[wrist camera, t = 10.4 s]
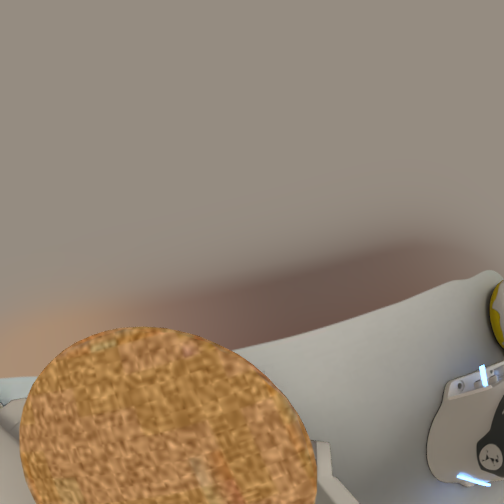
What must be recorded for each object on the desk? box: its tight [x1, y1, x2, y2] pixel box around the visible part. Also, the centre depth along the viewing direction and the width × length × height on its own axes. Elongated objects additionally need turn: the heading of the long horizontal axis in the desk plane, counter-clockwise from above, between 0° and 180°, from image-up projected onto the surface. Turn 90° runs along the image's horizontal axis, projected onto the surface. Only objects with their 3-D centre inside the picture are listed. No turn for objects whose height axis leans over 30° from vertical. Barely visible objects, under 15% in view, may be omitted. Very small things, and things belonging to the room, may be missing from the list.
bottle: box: [19, 327, 317, 504], centre depth 9 cm, size 6×6×15 cm
